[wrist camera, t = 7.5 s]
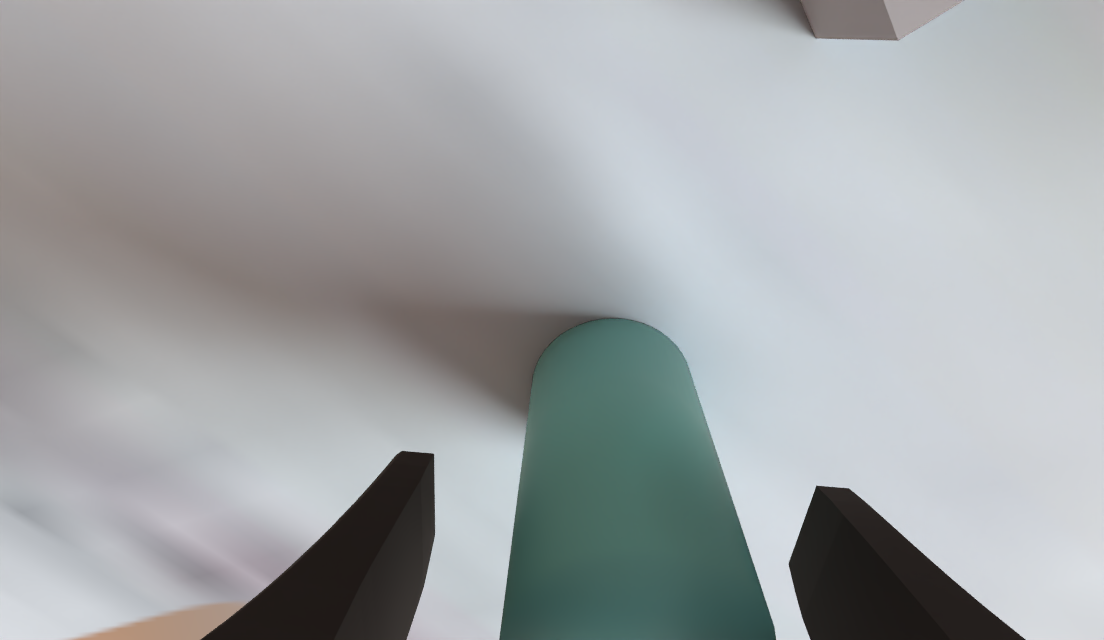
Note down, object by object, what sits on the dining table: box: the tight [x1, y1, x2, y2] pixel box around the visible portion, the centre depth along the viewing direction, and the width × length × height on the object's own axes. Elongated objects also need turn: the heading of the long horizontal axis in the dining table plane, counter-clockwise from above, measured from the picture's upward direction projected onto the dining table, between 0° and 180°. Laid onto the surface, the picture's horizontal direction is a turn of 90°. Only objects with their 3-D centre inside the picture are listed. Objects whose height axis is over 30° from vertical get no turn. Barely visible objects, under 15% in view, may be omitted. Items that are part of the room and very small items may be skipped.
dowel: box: [499, 319, 776, 640], centre depth 12 cm, size 4×4×7 cm
